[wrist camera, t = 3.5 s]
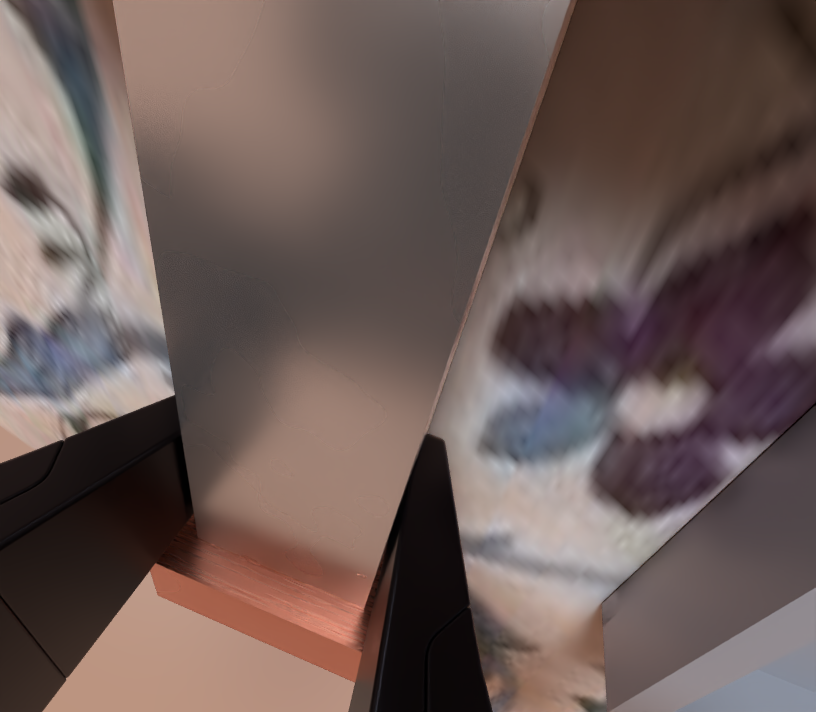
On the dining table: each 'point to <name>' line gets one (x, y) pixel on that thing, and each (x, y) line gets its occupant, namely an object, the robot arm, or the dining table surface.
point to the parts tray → (726, 599)
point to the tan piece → (318, 272)
